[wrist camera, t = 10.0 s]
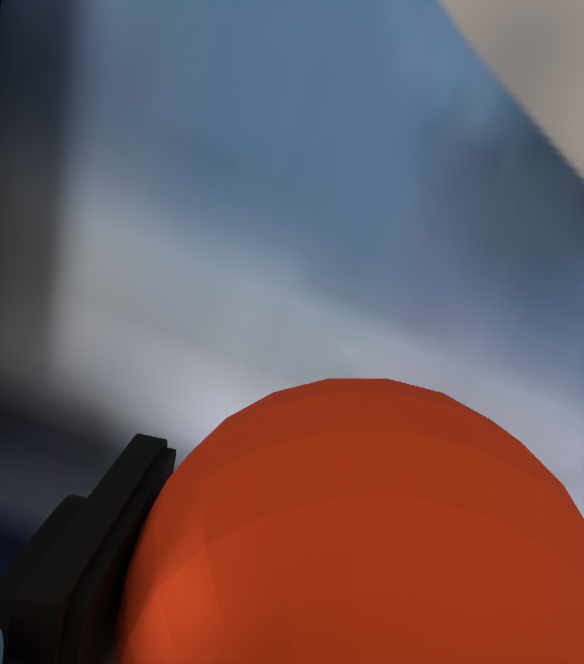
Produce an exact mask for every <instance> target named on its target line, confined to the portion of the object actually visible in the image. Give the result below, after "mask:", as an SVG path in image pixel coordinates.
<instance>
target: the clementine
mask: <svg viewBox="0 0 584 664" xmlns="http://www.w3.org/2000/svg"><path fill="white" fill-rule="evenodd" d="M115 638H116V664H584V518H583V517H582V515H581V513H580V512H579V510H578V508H577V507H576V505H575V504H574V502H573V500H572V499H571V497H570V495H569V494H568V492H567V490H566V489H565V487H564V485H563V484H562V483H561V482H560V481H559V480H558V479H557V478H556V477H555V476H554V475H553V474H552V473H551V472H550V471H549V470H548V469H547V468H546V467H545V466H544V465H543V464H542V463H541V462H540V461H539V460H538V459H537V458H536V457H535V456H534V455H533V454H532V453H531V452H530V451H529V450H528V449H527V448H526V447H525V446H524V445H523V444H522V443H521V442H520V441H519V440H517V439H516V438H515V437H513V436H512V435H511V434H509V433H508V432H507V431H505V430H504V429H503V428H501V427H500V426H498V425H497V424H496V423H494V422H493V421H492V420H490V419H488V418H486V417H485V416H483V415H481V414H479V413H478V412H476V411H474V410H472V409H470V408H469V407H467V406H465V405H463V404H461V403H460V402H458V401H456V400H454V399H453V398H451V397H449V396H447V395H445V394H444V393H441V392H437V391H433V390H429V389H425V388H421V387H417V386H413V385H410V384H406V383H402V382H398V381H394V380H390V379H325V380H321V381H317V382H313V383H309V384H305V385H301V386H297V387H293V388H289V389H285V390H281V391H277V392H273V393H272V394H270V395H268V396H266V397H264V398H262V399H261V400H259V401H257V402H255V403H253V404H251V405H250V406H248V407H246V408H244V409H242V410H240V411H239V412H237V413H235V414H233V415H231V416H229V417H228V418H226V419H225V420H224V421H223V422H222V423H221V424H220V425H219V426H218V427H217V428H216V429H215V430H214V431H213V432H212V433H211V434H209V435H208V436H207V437H206V438H205V439H204V440H203V441H202V442H201V443H200V444H199V445H198V446H197V447H196V448H195V449H194V450H193V451H192V452H191V453H190V454H189V455H188V456H187V457H186V459H185V460H184V461H183V462H182V463H181V464H180V466H179V467H178V468H177V469H176V470H175V471H174V473H173V474H172V475H171V476H170V477H169V479H168V480H167V481H166V483H165V485H164V487H163V489H162V490H161V492H160V494H159V496H158V498H157V499H156V501H155V503H154V505H153V506H152V508H151V510H150V512H149V514H148V515H147V517H146V519H145V521H144V523H143V524H142V526H141V529H140V532H139V535H138V538H137V541H136V544H135V547H134V551H133V554H132V557H131V560H130V563H129V566H128V569H127V573H126V577H125V582H124V587H123V592H122V597H121V602H120V607H119V612H118V617H117V621H116V626H115Z"/></svg>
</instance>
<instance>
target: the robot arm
mask: <svg viewBox="0 0 584 664" xmlns="http://www.w3.org/2000/svg"><path fill="white" fill-rule="evenodd" d="M175 457H176V449H171V448H167V440H166V439H162V438H157V437H152V436H148V435H143V434H136V435H135V437H134V438H133V439H132V440H131V442H130V443H129V444H128V446H127V447H126V448H125V450H124V451H123V452H122V454H121V455H120V456H119V457H118V459H117V460H116V461H115V463H114V464H113V465H112V467H111V468H110V469H109V471H108V472H107V473H106V474H105V476H104V477H103V478H102V480H101V481H100V482H99V484H98V485H97V486H96V488H95V489H94V490H93V491H92V493H91V494H90V495H89V497H88V498H87V497H82V496H78V495H73V494H72V495H69V496H67V497H66V498H65V499H64V500H63V501H62V502H61V503H60V504H59V506H58V507H57V508H56V509H55V510H54V511H53V513H52V514H51V515H50V516H49V517H48V519H47V520H46V521H45V522H44V523H43V525H42V526H41V527H40V528H39V529H38V530H37V532H36V533H35V534H34V535H33V536H32V538H31V539H30V540H29V541H28V542H27V544H26V545H25V546H24V547H23V548H22V550H21V551H20V552H19V553H18V554H17V555H16V557H15V558H14V559H13V560H12V561H11V563H10V564H9V565H8V566H7V567H6V569H5V570H4V571H3V572H2V573H1V574H0V664H116V638H115V626H116V621H117V617H118V612H119V607H120V602H121V597H122V592H123V587H124V582H125V577H126V573H127V569H128V566H129V563H130V560H131V557H132V554H133V551H134V547H135V544H136V541H137V538H138V535H139V532H140V529H141V526H142V524H143V523H144V521H145V519H146V517H147V515H148V514H149V512H150V510H151V508H152V506H153V505H154V503H155V501H156V499H157V498H158V496H159V494H160V492H161V490H162V489H163V487H164V485H165V483H166V481H167V480H168V479H169V477H170V476H171V475H172V474H173V469H174V463H175Z"/></svg>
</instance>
